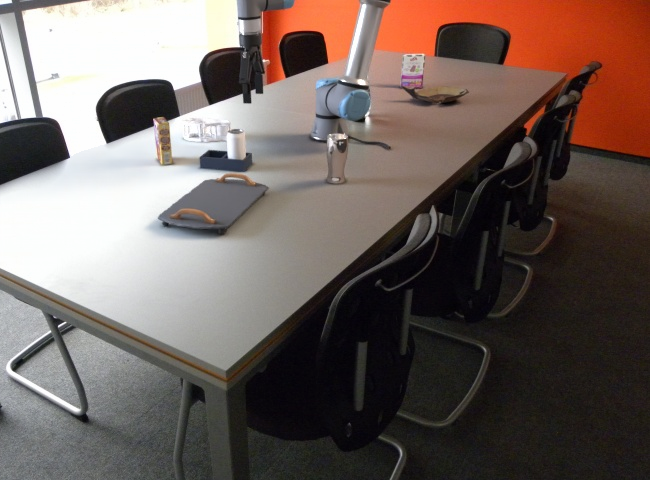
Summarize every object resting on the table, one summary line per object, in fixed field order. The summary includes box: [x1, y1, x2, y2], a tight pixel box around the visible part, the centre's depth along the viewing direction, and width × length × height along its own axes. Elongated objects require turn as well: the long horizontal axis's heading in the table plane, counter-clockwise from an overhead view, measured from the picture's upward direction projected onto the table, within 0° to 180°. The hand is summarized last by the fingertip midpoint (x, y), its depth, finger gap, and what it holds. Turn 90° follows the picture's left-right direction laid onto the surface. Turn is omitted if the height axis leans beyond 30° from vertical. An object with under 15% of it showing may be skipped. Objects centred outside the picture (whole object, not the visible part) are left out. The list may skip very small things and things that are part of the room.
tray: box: [198, 149, 253, 173], centre depth 220 cm, size 17×9×4 cm, turn 71°
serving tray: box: [157, 172, 270, 236], centre depth 184 cm, size 39×23×6 cm, turn 158°
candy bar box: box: [400, 53, 426, 89], centre depth 315 cm, size 11×5×16 cm, turn 80°
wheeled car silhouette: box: [181, 117, 231, 143], centre depth 250 cm, size 20×11×7 cm, turn 66°
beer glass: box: [325, 133, 349, 185], centre depth 200 cm, size 7×7×15 cm
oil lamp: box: [400, 85, 470, 104], centre depth 291 cm, size 22×30×8 cm
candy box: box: [153, 116, 173, 166], centre depth 224 cm, size 9×4×15 cm, turn 20°
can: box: [226, 128, 247, 160], centre depth 216 cm, size 6×6×12 cm
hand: (253, 98), depth 213 cm, fingers open, 13 cm apart
